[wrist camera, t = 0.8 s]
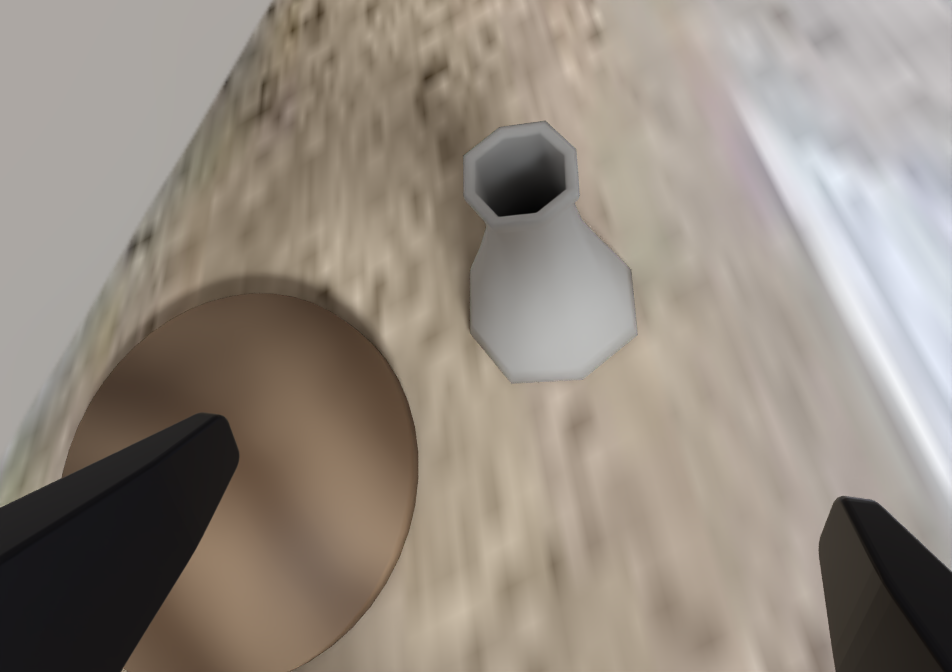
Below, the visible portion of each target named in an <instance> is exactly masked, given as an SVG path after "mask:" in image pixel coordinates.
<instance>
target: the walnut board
mask: <svg viewBox="0 0 952 672" xmlns="http://www.w3.org/2000/svg"><path fill="white" fill-rule="evenodd" d="M202 412H205V413H213V414H220V415H223V416H224V417H225V418H226V419H227V420H228V422H229V424H230V427H231V430H232V432H233V435H234V438H235V441H236V443H237V446H238V449H239V454H240V458H239V463H238V466H237V469H236V471H235V473H234V475H233V477H232V479H231V481H230V483H229V485H228V487H227V489H226V491H225V493H224V495H223V497H222V499H221V501H220V503H219V505H218V507H217V509H216V511H215V513H214V515H213V517H212V519H211V521H210V523H209V525H208V527H207V529H206V531H205V533H204V535H203V537H202V539H201V541H200V543H199V545H198V547H197V549H196V550H195V552H194V554H193V555H192V557H191V559H190V561H189V562H188V564H187V566H186V567H185V569H184V570H183V572H182V574H181V575H180V577H179V578H178V580H177V582H176V583H175V585H174V587H173V588H172V590H171V591H170V593H169V595H168V596H167V598H166V600H165V601H164V603H163V604H162V606H161V608H160V609H159V611H158V612H157V614H156V616H155V617H154V619H153V621H152V622H151V624H150V625H149V627H148V629H147V630H146V632H145V634H144V635H143V637H142V638H141V640H140V642H139V643H138V645H137V647H136V648H135V650H134V651H133V653H132V655H131V656H130V658H129V659H128V661H127V663H126V664H125V666H124V669H125V670H127V671H129V672H289V671H291V670H293V669H295V668H297V667H299V666H301V665H303V664H306V663H308V662H309V661H311V660H312V659H314V658H315V657H317V656H318V655H320V654H321V653H323V652H324V651H326V650H327V649H328V648H330V647H331V646H332V645H334V644H335V643H336V642H337V641H338V640H339V639H340V638H341V637H343V636H344V635H345V634H346V633H347V632H348V631H349V630H350V629H351V628H352V627H353V626H354V625H355V624H356V623H357V622H358V620H359V619H360V618H361V617H362V616H363V615H364V614H365V612H366V611H367V610H368V609H369V608H370V607H371V605H372V604H373V602H374V601H375V599H376V598H377V596H378V595H379V593H380V592H381V590H382V589H383V587H384V586H385V584H386V583H387V581H388V579H389V577H390V575H391V573H392V571H393V569H394V567H395V565H396V563H397V561H398V559H399V557H400V554H401V551H402V549H403V546H404V543H405V540H406V538H407V535H408V532H409V529H410V524H411V520H412V516H413V512H414V508H415V502H416V493H417V485H418V447H417V440H416V432H415V426H414V422H413V418H412V415H411V411H410V407H409V404H408V401H407V399H406V396H405V394H404V392H403V389H402V387H401V384H400V382H399V380H398V379H397V377H396V375H395V374H394V372H393V370H392V369H391V367H390V365H389V363H388V362H387V361H386V360H385V358H384V357H383V356H382V355H381V353H380V352H379V351H378V350H377V348H376V347H375V346H374V345H373V344H372V343H371V342H370V341H369V340H367V339H366V338H365V337H364V336H363V335H362V334H361V333H360V332H359V331H357V330H356V329H355V328H354V327H352V326H351V325H350V324H348V323H347V322H346V321H344V320H343V319H341V318H340V317H338V316H337V315H335V314H334V313H332V312H331V311H329V310H326V309H324V308H322V307H320V306H318V305H316V304H314V303H311V302H308V301H305V300H302V299H298V298H295V297H291V296H284V295H277V294H244V295H236V296H229V297H226V298H222V299H218V300H214V301H210V302H208V303H205V304H202V305H200V306H197V307H195V308H192V309H190V310H188V311H186V312H184V313H182V314H180V315H178V316H177V317H175V318H173V319H171V320H169V321H168V322H166V323H165V324H163V325H162V326H160V327H159V328H158V329H156V330H155V331H153V332H152V333H151V334H149V335H148V336H147V337H146V338H145V339H143V340H142V341H141V342H140V343H139V344H137V345H136V346H135V347H134V348H133V349H132V350H131V351H130V352H129V353H128V354H127V355H126V356H125V357H124V358H123V359H122V360H121V361H120V363H119V364H118V365H117V366H116V367H115V369H114V370H113V371H112V372H111V374H110V375H109V376H108V377H107V379H106V380H105V381H104V382H103V384H102V385H101V387H100V389H99V390H98V392H97V393H96V395H95V396H94V398H93V399H92V401H91V403H90V404H89V406H88V408H87V410H86V412H85V414H84V416H83V418H82V420H81V422H80V424H79V426H78V428H77V431H76V433H75V436H74V438H73V441H72V444H71V446H70V449H69V452H68V456H67V459H66V463H65V466H64V470H63V474H62V478H63V477H65V476H68V475H70V474H72V473H74V472H76V471H78V470H80V469H82V468H84V467H86V466H88V465H90V464H93V463H95V462H97V461H99V460H101V459H103V458H105V457H107V456H109V455H111V454H113V453H115V452H117V451H120V450H122V449H124V448H126V447H128V446H130V445H132V444H134V443H136V442H138V441H140V440H142V439H145V438H147V437H149V436H151V435H153V434H155V433H157V432H159V431H161V430H163V429H165V428H167V427H170V426H172V425H174V424H176V423H178V422H180V421H182V420H184V419H186V418H188V417H190V416H192V415H195V414H197V413H202Z"/></svg>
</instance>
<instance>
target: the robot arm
mask: <svg viewBox="0 0 952 672" xmlns="http://www.w3.org/2000/svg"><path fill="white" fill-rule="evenodd" d="M239 458H240V454H239V449H238V446H237V443H236V441H235V438H234V435H233V432H232V430H231V427H230V424H229V422H228V420H227V419H226V418H225V417H224V416H223V415H220V414H213V413H205V412H202V413H197V414H195V415H192V416H190V417H188V418H186V419H184V420H182V421H180V422H178V423H176V424H174V425H172V426H170V427H167V428H165V429H163V430H161V431H159V432H157V433H155V434H153V435H151V436H149V437H147V438H145V439H142V440H140V441H138V442H136V443H134V444H132V445H130V446H128V447H126V448H124V449H122V450H120V451H117V452H115V453H113V454H111V455H109V456H107V457H105V458H103V459H101V460H99V461H97V462H95V463H93V464H90V465H88V466H86V467H84V468H82V469H80V470H78V471H76V472H74V473H72V474H70V475H68V476H65V477H63V478H61V479H59V480H57V481H55V482H53V483H51V484H49V485H47V486H45V487H43V488H40V489H38V490H36V491H34V492H32V493H30V494H28V495H26V496H24V497H22V498H20V499H18V500H15V501H13V502H11V503H9V504H7V505H5V506H3V507H1V508H0V672H121V671H122V669H123V668H124V666H125V664H126V663H127V661H128V659H129V658H130V656H131V655H132V653H133V651H134V650H135V648H136V647H137V645H138V643H139V642H140V640H141V638H142V637H143V635H144V634H145V632H146V630H147V629H148V627H149V625H150V624H151V622H152V621H153V619H154V617H155V616H156V614H157V612H158V611H159V609H160V608H161V606H162V604H163V603H164V601H165V600H166V598H167V596H168V595H169V593H170V591H171V590H172V588H173V587H174V585H175V583H176V582H177V580H178V578H179V577H180V575H181V574H182V572H183V570H184V569H185V567H186V566H187V564H188V562H189V561H190V559H191V557H192V555H193V554H194V552H195V550H196V549H197V547H198V545H199V543H200V541H201V539H202V537H203V535H204V533H205V531H206V529H207V527H208V525H209V523H210V521H211V519H212V517H213V515H214V513H215V511H216V509H217V507H218V505H219V503H220V501H221V499H222V497H223V495H224V493H225V491H226V489H227V487H228V485H229V483H230V481H231V479H232V477H233V475H234V473H235V471H236V469H237V466H238V463H239ZM819 560H820V567H821V574H822V581H823V588H824V595H825V602H826V609H827V617H828V624H829V631H830V638H831V645H832V652H833V658H834V664H835V670H836V672H952V571H951V570H949V569H948V568H947V567H946V566H945V565H944V564H943V563H942V562H941V561H940V560H939V559H938V558H937V557H936V556H935V555H934V554H932V553H931V552H930V551H929V550H928V549H927V548H926V547H925V546H924V545H923V544H922V543H921V542H920V541H919V540H918V539H916V538H915V537H914V536H913V535H912V534H911V533H910V532H909V531H908V530H907V529H906V528H905V527H904V526H903V525H902V524H900V523H899V522H898V521H897V520H896V519H895V518H894V517H893V516H892V515H891V514H890V513H889V512H888V511H887V510H886V509H884V508H883V507H882V506H881V505H880V504H879V503H877V502H875V501H873V500H870V499H863V498H856V497H848V496H841V497H838V498H837V499H836V500H835V501H834V503H833V505H832V508H831V510H830V513H829V516H828V518H827V521H826V523H825V526H824V529H823V531H822V534H821V537H820V541H819Z"/></svg>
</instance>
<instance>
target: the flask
mask: <svg viewBox="0 0 952 672" xmlns="http://www.w3.org/2000/svg"><path fill="white" fill-rule="evenodd" d="M463 174H464V199H465V201H466V202H467V203H468V204H469V205H470V206H471V208H472V209H473V210H474V211H475V212H476V213H477V214H478V215H479V216H480V217H481V218H482V219H483V221H484V222H485V224H486V230H485V233H484V236H483V239H482V242H481V245H480V248H479V251H478V253H477V255H476V257H475V260H474V262H473V264H472V267H471V270H470V334H471V335H472V336H473V337H474V339H475V340H476V341H477V342H478V343H479V345H480V346H481V347H482V348H483V349H484V351H485V352H486V353H487V354H488V356H489V357H490V358H491V359H492V360H493V362H494V363H495V364H496V365H497V366H498V368H499V369H500V370H501V371H502V373H503V374H504V375H505V376H506V377H507V379H508V380H509V381H510V382H511V384H512V383H531V382H549V381H567V380H583V379H584V378H585V377H586V376H588V375H589V374H590V373H591V372H593V371H594V370H595V369H596V368H597V367H599V366H600V365H601V364H602V363H604V362H605V361H606V360H607V359H609V358H610V357H611V356H612V355H613V354H615V353H616V352H617V351H618V350H620V349H621V348H622V347H623V346H625V345H626V344H627V343H628V342H629V341H631V340H632V339H633V338H634V337H636V336H637V335H638V333H637V323H636V313H635V303H634V293H633V282H632V272H631V269H630V268H629V266H628V265H627V264H626V263H625V262H624V261H623V260H622V259H621V258H620V257H619V256H618V255H617V254H616V253H615V252H614V251H613V250H612V249H611V248H610V247H608V246H607V245H606V244H605V243H604V242H603V241H602V240H601V239H600V238H599V237H598V236H597V235H596V234H595V233H594V232H593V231H592V230H591V229H590V228H589V226H588V225H587V224H586V223H585V222H584V221H583V220H582V219H581V216H580V214H579V212H578V210H577V208H576V206H575V202H576V201H577V200H578V198H579V196H580V193H579V179H578V165H577V153H576V149H575V148H574V147H573V146H572V145H571V144H570V143H569V142H568V141H567V140H566V139H565V138H564V137H562V136H561V135H560V134H559V133H558V132H557V131H556V130H555V129H554V128H553V127H552V126H550V125H549V124H548V123H547V122H546V121H540V122H533V123H525V124H518V125H511V126H504V127H499V128H498V129H496V130H495V131H494V132H493V133H491V134H490V135H489V136H487V137H486V138H485V139H484V140H482V141H481V142H480V143H479V144H477V145H476V146H475V147H474V148H472V149H471V150H470V151H469V152H467V153H466V154H465V155H463Z"/></svg>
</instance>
